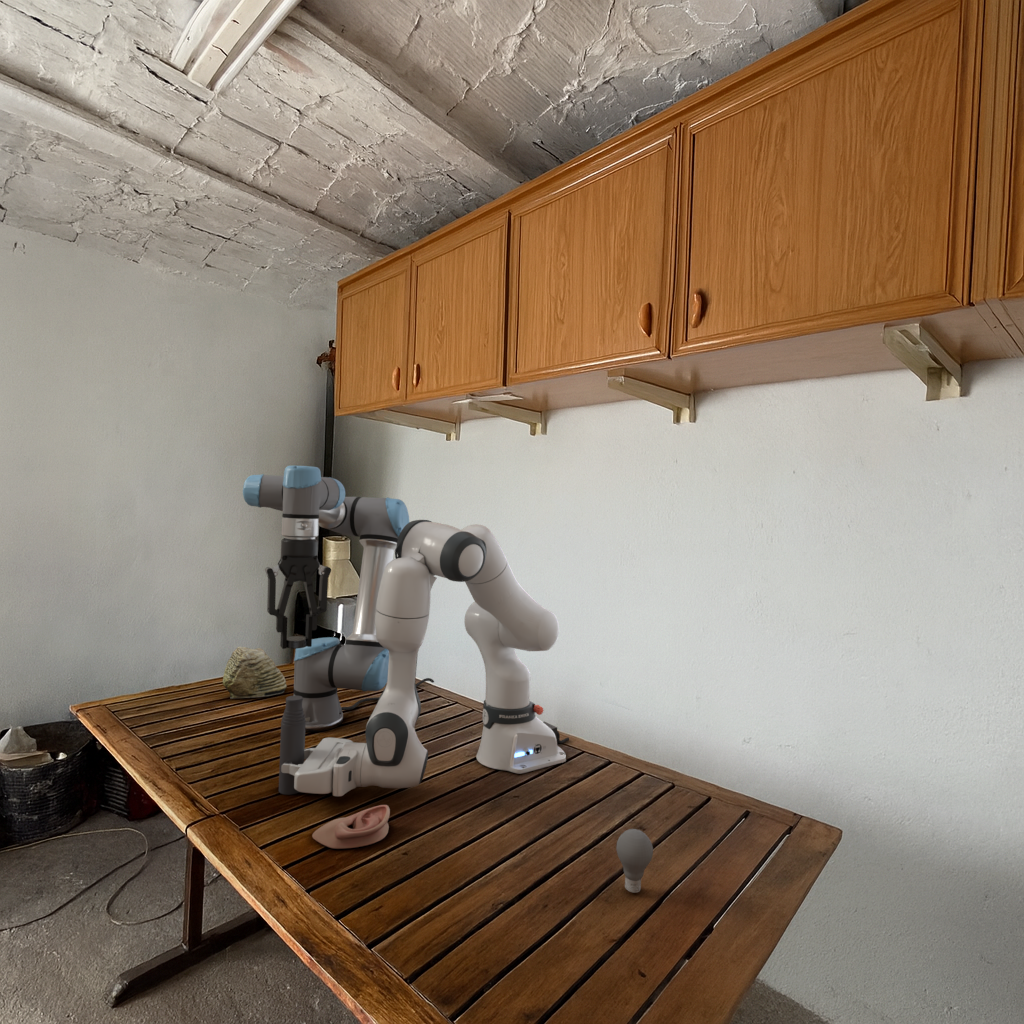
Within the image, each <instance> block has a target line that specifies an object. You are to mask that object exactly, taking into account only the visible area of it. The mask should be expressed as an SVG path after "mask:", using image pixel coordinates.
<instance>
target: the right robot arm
mask: <svg viewBox="0 0 1024 1024" xmlns="http://www.w3.org/2000/svg"><path fill="white" fill-rule="evenodd" d="M394 557H395V559H393V560H392V561H391V562H389V563H388V564H387V566H386V568H385V570H384V573H383V576H382V580H381V583H380V588H379V592H378V598H377V605H376V614H375V630H376V639H377V640H378V642H379V643H380V644H381V645H382V646H383V647H384V648H386V649H387V650H388V651H389V664H388V678H387V683H386V685H385V686H384V689H383V690H382V692H381V693H380V696H378V697H379V700H377V702H376V705H375V707H374V709H373V711H372V713H371V715H370V716H369V719H368V721H367V723H366V725H365V741H366V742H355V741H353V740H351V739H348V738H339V737H325V738H324V737H323V738H322V739H321V741H320V742H319V743H318V744H317V745H316V746H315V747H310V748H305V752H304V763H303V764H298V765H295V764H292V762H285V763H284V764H283V765H282V766H281V772H282V773H289V774H291V775H293V776H295V777H294V789H295V790H297V791H299V793H305V794H314V795H315V794H318V795H326V794H330V793H332V796H333V797H343V796H344V795H345V794H347V793H348V792H350V791H351V790H354V789H356V788H366V787H367V788H368V787H372V786H374V787H379V788H382V789H409V788H414V787H417V786H419V785H421V784H422V782H423V779H424V776H425V772H426V768H427V764H428V761H429V751H428V749H427V748H425V746H424V745H423V744H422V742H421V741H420V739H419V737H418V735H417V732H416V729H415V726H416V723H417V721H418V719H419V718H420V715H421V712H422V703H421V699H420V696H419V693H418V690H417V687H416V685H415V684H416V678H417V666H418V655H419V650H420V648H421V646H422V645H423V642H424V640H425V637H426V633H427V629H428V626H429V625H428V624H429V620H430V611H431V598H432V597H431V596H432V593H431V591H432V589H433V586H434V584H435V582H436V580H437V578H438V577H441V578H444V579H446V580H448V581H451V582H458V583H465V585H466V587H467V589H468V591H469V593H470V595H471V596H472V599H473V601H474V602H472V603H471V604H470V605H469V606H468V608H467V609H466V612H465V615H464V629H465V631H466V633H467V635H469V637H470V638H471V639H472V640H473V641H474V643H475V644H476V646H477V648H478V650H479V652H480V656H481V658H482V661H483V665H484V670H485V699H484V700H483V703H482V705H483V706H482V732H481V738H480V741H479V747H478V750H477V752H476V755H475V756H476V761H477V762H478V763H479V764H481V765H483V766H485V767H487V768H490V769H494V770H499V771H507V772H510V773H514V774H518V775H519V774H520V775H521V774H522V775H523V774H526V773H529V772H532V771H537V770H541V769H544V768H548V767H551V766H555V765H559V764H563V763H566V761H567V755H566V752H565V751H564V750H563V748H561V747H560V746H558V744H559V745H564V744H565V743H566V742H569V741H570V737H565V738H563V739H560V738H561V736H560V735H561V734H560V732H559V731H558V726H555V725H553V724H551V723H550V722H549V723H548V722H546V721H542V720H541V719H540V718H538V716H541V715H542V714H543V713H544V711H545V709H544V707H543V706H541V705H540V704H536V703H535V702H532V701H531V698H530V697H531V678H532V676H531V675H532V674H531V672H530V670H529V668H528V666H527V665H526V664H525V663H524V662H523V661H522V660H521V659H520V657H519V656H518V654H517V652H516V650H520V651H526V652H547V651H549V650H550V649H551V648H553V647H554V645H555V644H556V643H557V641H558V639H559V635H560V623H559V620H558V617H557V615H556V614H555V613H554V612H553V611H551V610H549V609H548V608H546V607H544V606H542V604H540V603H539V602H537V601H536V600H535V599H534V598H533V597H532V595H530V594H529V593H528V591H526V589H524V588H523V586H522V585H521V584H520V583H519V581H518V580H517V578H516V576H515V573H514V572H513V570H512V568H511V565H510V563H509V561H508V558H507V556H506V554H505V551H504V550H503V548H502V546H501V544H500V542H499V541H498V539H497V538H496V536H495V535H494V533H493V532H492V531H491V530H490V529H489V528H488V527H487V526H485V525H483V524H479V523H478V524H470V525H467V526H465V527H463V528H461V529H460V528H457V527H455V526H452V525H450V524H445V523H439V522H434V521H431V520H428V519H416V520H412V521H411V520H410V521H409V523H408V524H407V525H406V526H405V527H404V528H403V529H402V531H401V533H400V535H399V537H398V540H397V546H396V549H395V551H394ZM436 576H437V577H436ZM537 715H538V716H537Z"/></svg>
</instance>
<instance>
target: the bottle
mask: <svg viewBox="0 0 1024 1024" xmlns="http://www.w3.org/2000/svg"><path fill="white" fill-rule="evenodd" d="M302 701H303V697H302V696H294V695H289V696H287V697H285V709H284V712H283V715H282V717H281V721H280V740H279V741H280V745H279V767H278V770H279V771H278V793H280V794H282V795H286V796H287V795H288V796H289V795H291V796H292V795H296V794H299V793H300V792H299V791H297V790H295V789H294V777H295V776H293V775H291V774H289V773H282V772H281V766H282V765H283V764H284V763H285V762H292V764H295V765H298V764H303V763H304V762H305V759H304V752H305V749H306V732H305V725H306V720H305V714H304V711H303V708H302Z"/></svg>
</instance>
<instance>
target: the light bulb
mask: <svg viewBox="0 0 1024 1024" xmlns="http://www.w3.org/2000/svg"><path fill="white" fill-rule="evenodd" d="M615 849H616V854H617V857H618V859H619V861H620V863H621V865H622V867H623V873H624V874H623V875H624V876H625V878H624V888H625V890H627V891H628V892H630V893H634V894H635V893H639V892H640V891H641V889H642V887H641V886H642V879H643V877H644V875H645V871H646V868H647V867H648V866H649V864H650V863H651V861H652V859H653V855H654V847H653V843H652V841H651V838H649V836H648V835H647V834H646V833H645V832H643V831H642V830H641V829H636V828H629V829H627V830H625V831H623V832H622V833H621V834H620V835H619V837H618V839H617V841H616V847H615Z"/></svg>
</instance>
